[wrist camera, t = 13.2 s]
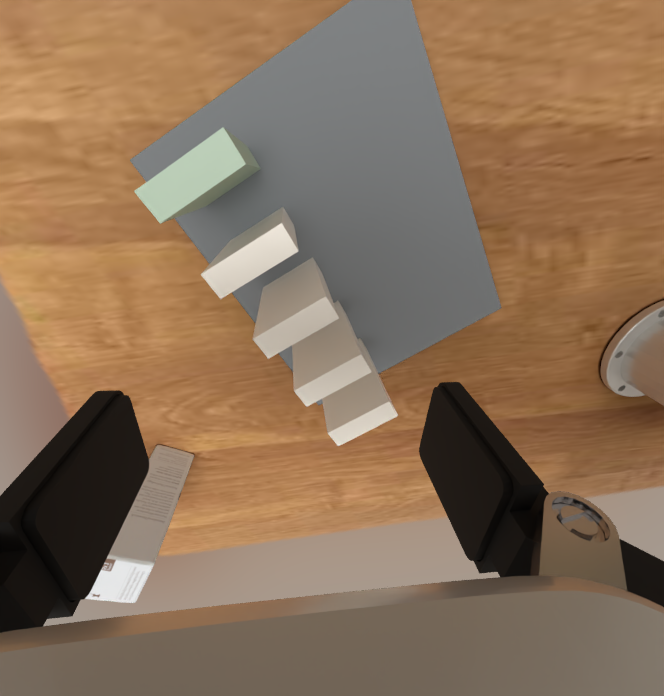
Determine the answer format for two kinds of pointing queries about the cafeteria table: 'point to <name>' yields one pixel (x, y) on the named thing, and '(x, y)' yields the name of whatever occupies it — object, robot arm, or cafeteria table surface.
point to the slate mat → (350, 180)
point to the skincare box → (143, 528)
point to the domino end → (198, 177)
